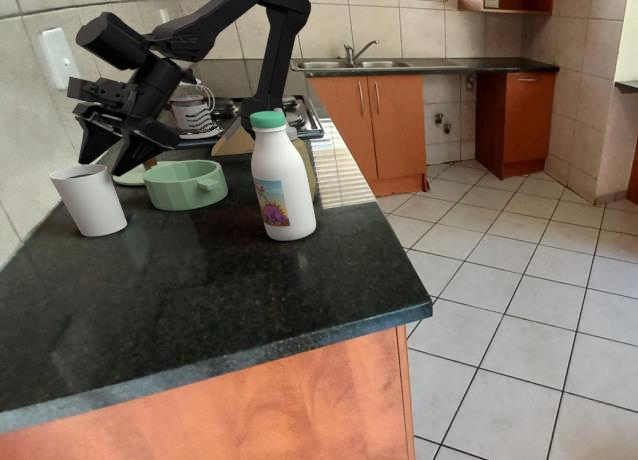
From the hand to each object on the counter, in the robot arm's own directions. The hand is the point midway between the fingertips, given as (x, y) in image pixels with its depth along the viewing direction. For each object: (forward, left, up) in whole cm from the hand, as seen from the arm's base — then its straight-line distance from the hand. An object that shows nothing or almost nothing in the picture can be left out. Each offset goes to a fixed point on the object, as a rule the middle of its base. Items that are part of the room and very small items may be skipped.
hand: (98, 170), depth 68 cm
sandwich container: (-7, -41, -10) cm, 43 cm away
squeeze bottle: (-27, -6, -10) cm, 29 cm away
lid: (+5, -22, -9) cm, 24 cm away
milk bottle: (-29, +6, -10) cm, 31 cm away
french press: (+10, -56, -10) cm, 57 cm away
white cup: (+1, +2, -10) cm, 10 cm away
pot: (-7, -10, -9) cm, 15 cm away
